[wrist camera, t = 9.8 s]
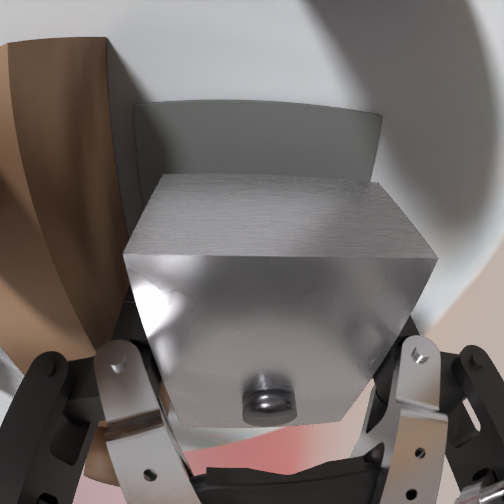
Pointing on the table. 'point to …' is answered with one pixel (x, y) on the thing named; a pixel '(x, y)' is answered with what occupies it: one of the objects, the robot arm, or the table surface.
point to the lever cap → (272, 293)
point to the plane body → (60, 210)
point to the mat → (252, 140)
